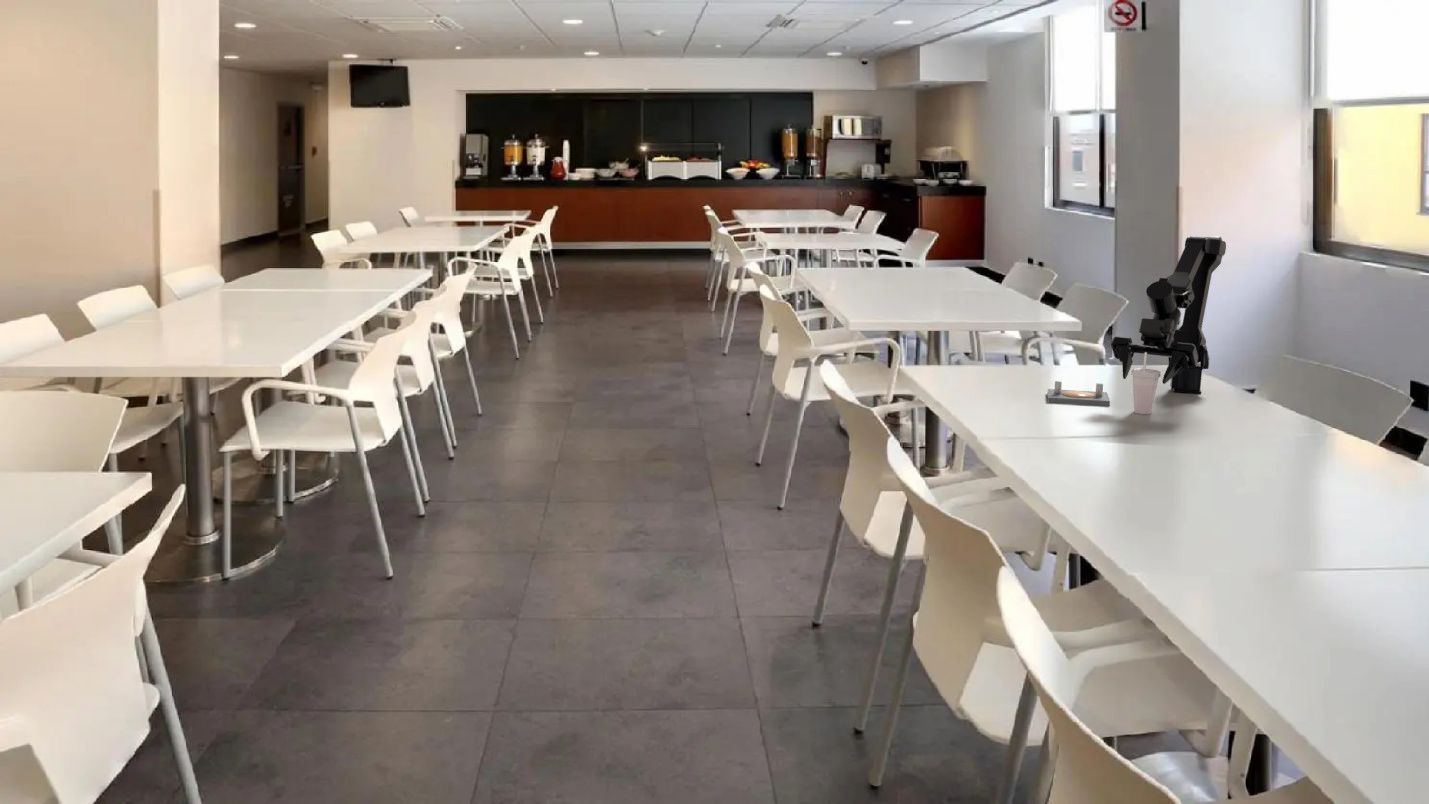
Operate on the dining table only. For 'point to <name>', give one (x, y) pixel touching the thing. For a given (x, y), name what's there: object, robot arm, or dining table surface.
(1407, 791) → the dining table surface
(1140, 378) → the smoothie
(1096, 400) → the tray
